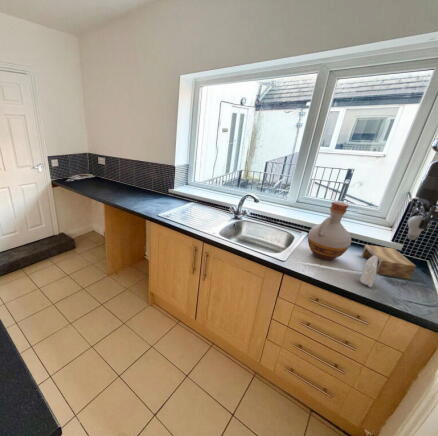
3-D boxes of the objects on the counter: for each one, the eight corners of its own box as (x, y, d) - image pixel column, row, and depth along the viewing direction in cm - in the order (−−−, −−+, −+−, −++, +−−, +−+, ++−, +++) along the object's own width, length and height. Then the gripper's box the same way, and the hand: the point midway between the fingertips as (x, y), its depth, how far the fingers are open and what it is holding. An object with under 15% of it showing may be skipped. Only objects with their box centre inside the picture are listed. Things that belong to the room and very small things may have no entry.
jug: (327, 270, 117) (347, 212, 105) (293, 252, 132) (307, 200, 120) (351, 261, 124) (372, 206, 113) (316, 245, 139) (332, 195, 128)
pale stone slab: (360, 271, 114) (369, 251, 110) (372, 274, 112) (381, 254, 108) (359, 283, 106) (368, 262, 102) (372, 287, 104) (381, 265, 99)
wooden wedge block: (389, 260, 126) (394, 248, 123) (409, 279, 110) (416, 265, 107) (361, 256, 130) (365, 244, 127) (376, 273, 114) (382, 260, 111)
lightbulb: (425, 243, 102) (436, 218, 98) (410, 243, 102) (421, 218, 98) (410, 236, 108) (420, 213, 104) (396, 236, 108) (406, 213, 104)
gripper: (460, 191, 90) (440, 233, 95) (433, 184, 102) (417, 221, 108) (433, 190, 92) (415, 230, 98) (410, 182, 105) (396, 219, 110)
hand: (416, 225), depth 103 cm, fingers closed on lightbulb, 6 cm apart
